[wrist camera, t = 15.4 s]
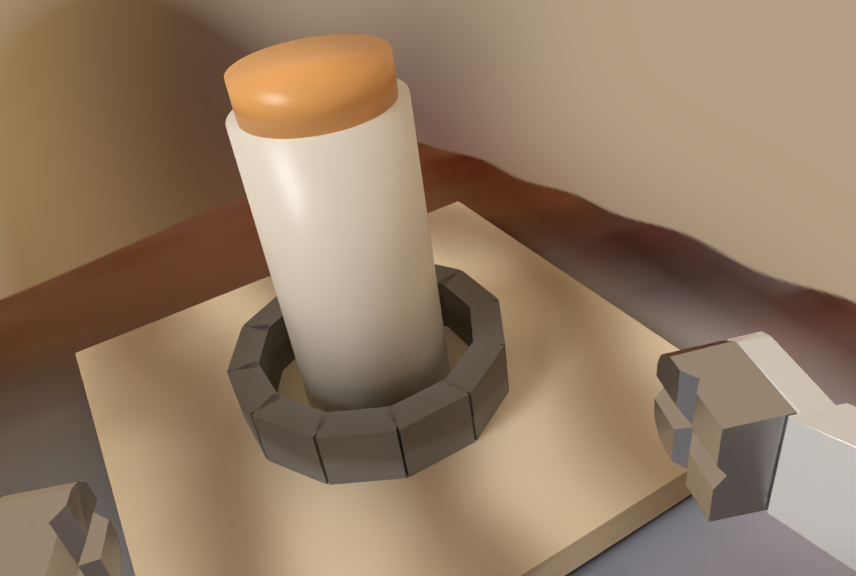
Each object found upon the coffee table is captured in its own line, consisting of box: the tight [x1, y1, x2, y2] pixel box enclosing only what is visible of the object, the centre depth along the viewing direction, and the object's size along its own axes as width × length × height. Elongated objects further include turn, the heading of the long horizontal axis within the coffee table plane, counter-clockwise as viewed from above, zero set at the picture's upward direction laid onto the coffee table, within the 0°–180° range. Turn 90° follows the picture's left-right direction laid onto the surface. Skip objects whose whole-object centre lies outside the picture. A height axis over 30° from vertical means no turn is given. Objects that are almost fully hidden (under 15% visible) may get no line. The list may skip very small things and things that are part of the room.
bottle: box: [224, 34, 450, 412], centre depth 22 cm, size 5×5×11 cm
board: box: [75, 201, 691, 576], centre depth 25 cm, size 18×18×3 cm
